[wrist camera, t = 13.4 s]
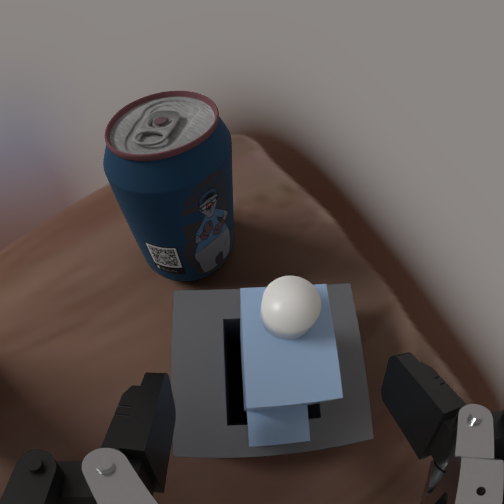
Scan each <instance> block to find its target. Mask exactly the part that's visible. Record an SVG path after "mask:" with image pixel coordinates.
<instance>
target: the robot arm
mask: <svg viewBox="0 0 504 504" xmlns="http://www.w3.org/2000/svg"><path fill="white" fill-rule="evenodd" d="M381 394H382V399H383V402H384V403H385V405H386V407H387V408H388V410H389V411H390V413H391V414H392V416H393V418H394V419H395V421H396V422H397V424H398V426H399V427H400V429H401V430H402V432H403V434H404V435H405V437H406V438H407V440H408V442H409V443H410V445H411V446H412V448H413V450H414V451H415V453H416V455H417V456H418V458H419V460H420V459H422V458H425V457H427V456H430V455H431V456H432V457H433V460H432V461H431V463H430V467H429V471H428V476H427V480H426V484H425V488H424V492H423V495H422V499H421V502H420V504H504V410H503V411H498V412H490V411H489V410H488V409H486V408H485V407H483V406H481V405H478V404H469V405H466V404H465V403H464V401H463V400H462V399H461V398H460V397H459V396H458V395H457V394H456V393H455V392H454V391H453V389H452V388H451V387H450V386H449V385H448V384H446V383H445V381H444V380H443V379H442V378H440V376H439V375H438V373H437V372H436V371H435V370H434V369H433V368H431V367H429V366H428V365H426V364H424V363H422V362H421V363H420V362H419V361H418V360H417V359H416V358H415V357H414V356H413V355H412V354H411V353H404V354H399V355H394V356H391V357H390V359H389V361H388V365H387V369H386V373H385V377H384V381H383V385H382V390H381ZM118 405H119V406H118V407H117V409H116V412H115V415H114V417H113V419H112V421H111V424H110V426H109V429H108V431H107V434H106V437H105V439H104V442H103V444H102V447H101V448H100V449H96V450H94V451H92V452H90V453H89V454H87V455H86V457H85V458H84V460H83V461H72V462H56V460H55V459H54V458H53V456H52V455H51V454H49V453H48V452H46V451H43V450H31V451H29V452H26V453H25V454H23V455H22V456H21V457H20V459H19V460H18V462H17V464H16V466H15V469H14V471H13V473H12V475H11V477H10V479H9V482H8V484H7V486H6V489H5V491H4V493H3V496H2V498H1V500H0V504H158V503H157V502H156V501H155V499H154V498H153V492H161V493H164V488H165V481H166V475H167V468H168V462H169V456H170V450H171V444H172V438H173V432H174V427H175V421H176V409H175V403H174V398H173V394H172V389H171V384H170V379H169V376H168V374H167V373H148V372H147V373H145V375H144V378H143V381H142V383H141V386H131V387H130V388H129V389H128V390H127V391H126V392H125V393H124V394H123V395H122V397H121V400H120V402H119V404H118Z"/></svg>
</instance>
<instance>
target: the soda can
mask: <svg viewBox="0 0 504 504" xmlns="http://www.w3.org/2000/svg"><path fill="white" fill-rule="evenodd" d="M105 141H106V149H105V155H104V163H103V164H104V171H105V174H106V176H107V178H108V181H109V183H110V185H111V188H112V190H113V192H114V194H115V197H116V199H117V201H118V203H119V205H120V208H121V210H122V212H123V214H124V216H125V218H126V220H127V223H128V225H129V227H130V229H131V231H132V233H133V235H134V237H135V239H136V241H137V243H138V245H139V247H140V249H141V251H142V253H143V255H144V257H145V259H146V261H147V262H148V264H149V265H150V267H151V268H152V269H153V270H154V271H156V272H157V273H158V274H160V275H161V276H163V277H165V278H168V279H171V280H175V281H194V280H198V279H201V278H204V277H207V276H209V275H210V274H212V273H214V272H215V271H216V270H218V269H219V268H220V267H221V266H222V265H223V264H224V263H225V261H226V260H227V259H228V257H229V255H230V253H231V251H232V248H233V244H234V221H233V186H232V142H231V135H230V132H229V130H228V129H227V127H226V125H225V124H224V123H223V121H222V120H221V118H220V117H219V112H218V108H217V106H216V105H215V103H214V102H213V101H212V100H211V99H209V98H208V97H206V96H203V95H201V94H198V93H194V92H189V91H169V92H161V93H156V94H152V95H149V96H146V97H143V98H141V99H138V100H136V101H134V102H132V103H130V104H128V105H126V106H125V107H123V108H122V109H121V110H120V111H118V112H117V113H116V115H114V117H113V118H112V119H111V120H110V122H109V124H108V125H107V127H106V131H105Z"/></svg>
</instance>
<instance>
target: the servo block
mask: <svg viewBox="0 0 504 504" xmlns="http://www.w3.org/2000/svg"><path fill="white" fill-rule="evenodd" d="M240 345H241V371H242V389H243V406H244V412H247V422H248V438H249V447H252V446H267V445H279V444H288V443H297V442H305V441H310V432H309V420H308V409H307V405H311V404H317V403H321V402H326V401H331V400H335V399H340V398H343V393H342V385H341V376H340V369H339V361H338V354H337V347H336V340H335V333H334V327H333V321H332V314H331V308H330V302H329V297H328V291H327V285H326V284H316V285H312V284H311V283H310V282H309V281H307V280H305V279H304V278H301V277H297V276H283V277H280V278H277V279H275V280H274V281H272V282H271V283H270V284H269V285H268V286H267V287H255V288H240Z"/></svg>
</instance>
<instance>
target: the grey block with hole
mask: <svg viewBox="0 0 504 504" xmlns="http://www.w3.org/2000/svg"><path fill="white" fill-rule="evenodd" d="M327 291H328V297H329V302H330V308H331V314H332V321H333V327H334V333H335V340H336V347H337V354H338V361H339V369H340V376H341V385H342V393H343V398H340V399H335V400H331V401H326V402H321V403H317V404H311V405H307V409H308V420H309V432H310V441H305V442H297V443H288V444H279V445H267V446H252V447H249V438H248V422H246V423H231V422H230V403H229V381H228V356H227V341H240V289H220V290H177V291H174V296H173V317H172V350H171V389H172V394H173V398H174V403H175V409H176V421H175V427H174V432H173V438H172V442H173V456H174V457H193V458H240V457H259V456H272V455H283V454H292V453H300V452H307V451H314V450H321V449H327V448H332V447H338V446H343V445H348V444H352V443H357V442H361V441H366V440H370V439H374V438H373V427H372V417H371V407H370V399H369V391H368V383H367V376H366V369H365V362H364V355H363V349H362V343H361V337H360V331H359V326H358V320H357V315H356V309H355V304H354V299H353V294H352V289H351V285H350V283H345V284H330V285H327Z"/></svg>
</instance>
